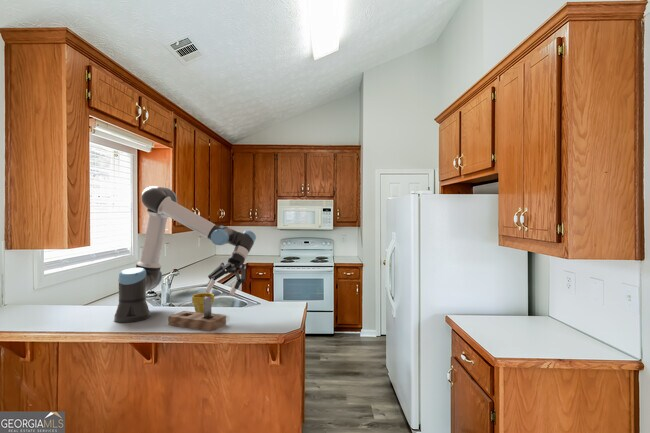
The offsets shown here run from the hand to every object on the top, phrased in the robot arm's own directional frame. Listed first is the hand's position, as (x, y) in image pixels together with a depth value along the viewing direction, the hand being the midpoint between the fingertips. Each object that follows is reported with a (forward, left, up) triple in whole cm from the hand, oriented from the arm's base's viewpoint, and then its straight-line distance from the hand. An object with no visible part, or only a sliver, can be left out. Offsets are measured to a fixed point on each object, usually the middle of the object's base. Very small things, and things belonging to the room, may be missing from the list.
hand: (219, 292), depth 172 cm
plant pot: (-16, +8, -14) cm, 23 cm away
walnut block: (-7, -7, -14) cm, 17 cm away
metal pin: (-1, -7, -13) cm, 14 cm away
